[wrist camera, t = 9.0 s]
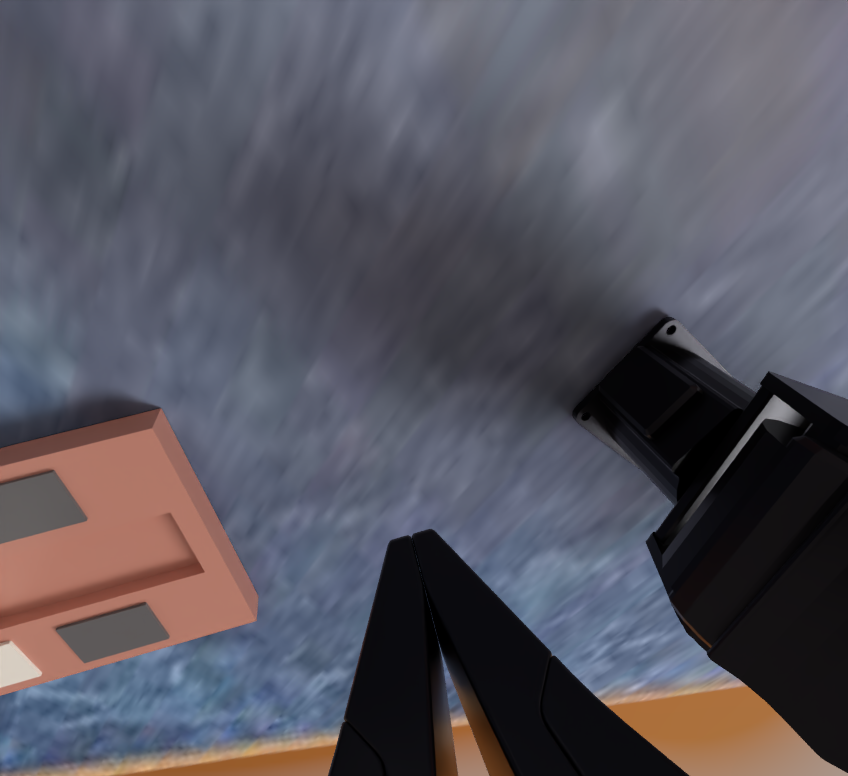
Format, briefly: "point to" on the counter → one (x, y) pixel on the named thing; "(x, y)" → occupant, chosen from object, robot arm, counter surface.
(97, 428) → the switch block
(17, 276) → the counter surface
